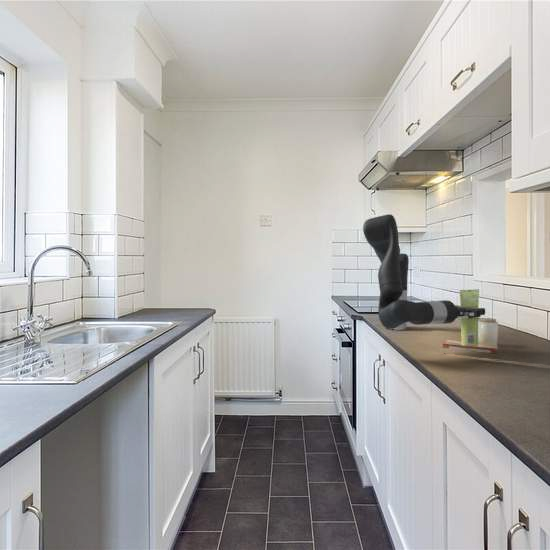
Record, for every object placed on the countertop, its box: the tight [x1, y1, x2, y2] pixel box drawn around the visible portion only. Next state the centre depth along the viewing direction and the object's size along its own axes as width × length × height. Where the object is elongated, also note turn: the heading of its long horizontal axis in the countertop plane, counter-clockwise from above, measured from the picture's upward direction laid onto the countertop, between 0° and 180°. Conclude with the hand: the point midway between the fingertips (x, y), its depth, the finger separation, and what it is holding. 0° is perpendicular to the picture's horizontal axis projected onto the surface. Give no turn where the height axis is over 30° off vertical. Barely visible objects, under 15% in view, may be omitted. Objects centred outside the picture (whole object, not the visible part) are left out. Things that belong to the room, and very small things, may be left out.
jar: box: [478, 317, 499, 347], centre depth 133 cm, size 6×6×9 cm
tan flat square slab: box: [442, 339, 499, 354], centre depth 131 cm, size 15×16×2 cm
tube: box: [459, 288, 480, 347], centre depth 129 cm, size 6×5×20 cm
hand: (476, 310), depth 129 cm, fingers open, 5 cm apart
